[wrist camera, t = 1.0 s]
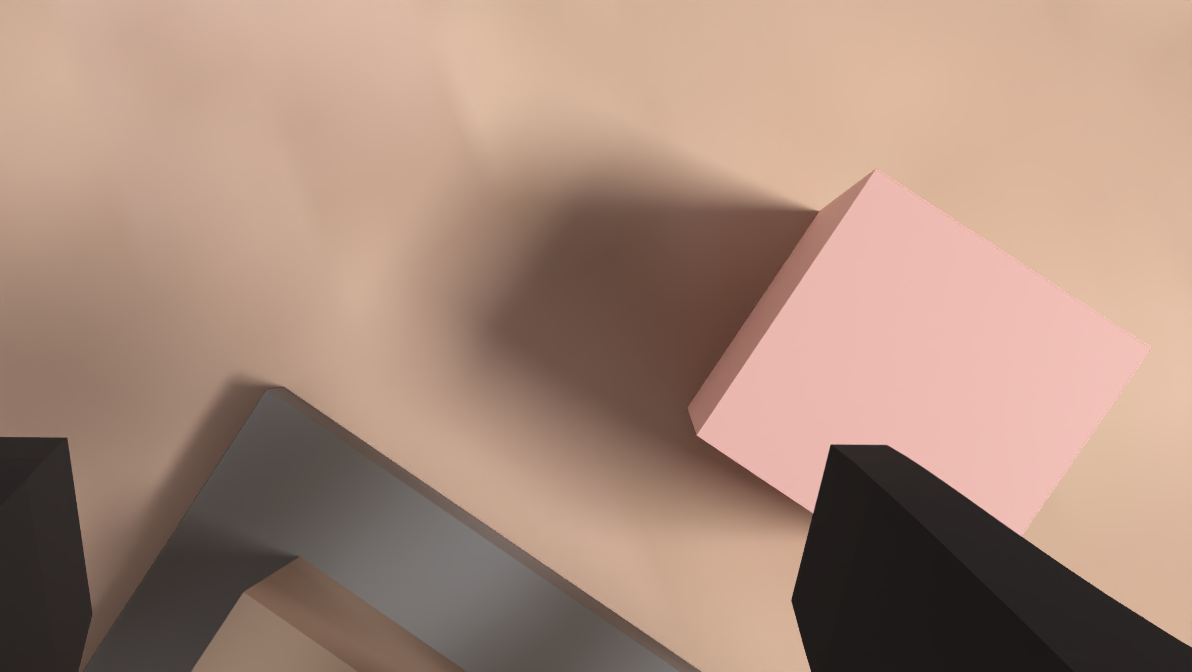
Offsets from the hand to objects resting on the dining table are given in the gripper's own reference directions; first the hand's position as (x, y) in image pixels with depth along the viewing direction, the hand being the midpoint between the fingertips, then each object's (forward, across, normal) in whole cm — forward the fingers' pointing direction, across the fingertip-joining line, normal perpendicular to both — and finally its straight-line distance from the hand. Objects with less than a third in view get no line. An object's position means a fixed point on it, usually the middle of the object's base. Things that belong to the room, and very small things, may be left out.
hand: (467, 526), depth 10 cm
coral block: (+10, -9, +4) cm, 14 cm away
